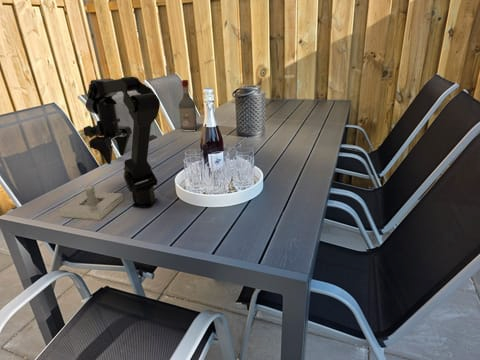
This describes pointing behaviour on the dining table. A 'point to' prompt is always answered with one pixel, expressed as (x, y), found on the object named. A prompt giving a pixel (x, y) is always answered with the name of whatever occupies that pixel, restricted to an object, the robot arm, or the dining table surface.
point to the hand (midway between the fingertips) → (115, 159)
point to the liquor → (187, 109)
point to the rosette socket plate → (97, 212)
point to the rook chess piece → (91, 196)
